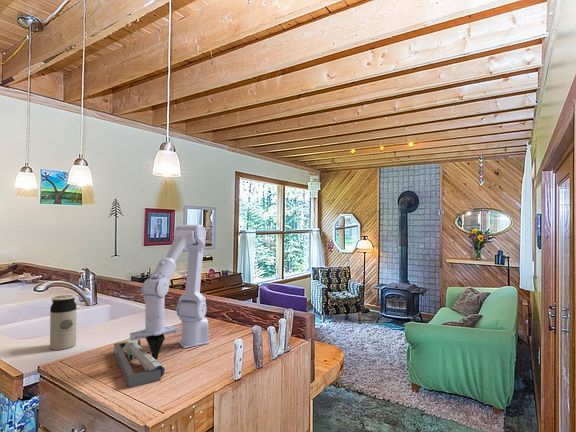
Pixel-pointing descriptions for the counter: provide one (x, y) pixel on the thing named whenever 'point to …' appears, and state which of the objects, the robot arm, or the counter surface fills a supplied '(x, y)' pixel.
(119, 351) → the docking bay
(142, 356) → the white handheld device
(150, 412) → the counter surface
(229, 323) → the counter surface
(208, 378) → the counter surface
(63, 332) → the travel mug
